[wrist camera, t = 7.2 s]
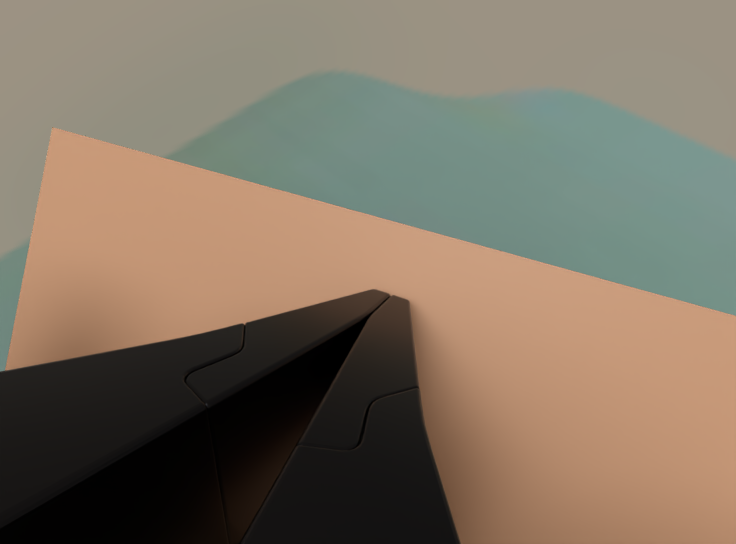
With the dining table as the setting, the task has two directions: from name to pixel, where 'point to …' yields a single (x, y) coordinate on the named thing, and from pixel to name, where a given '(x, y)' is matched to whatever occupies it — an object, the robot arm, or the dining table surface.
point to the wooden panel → (431, 337)
